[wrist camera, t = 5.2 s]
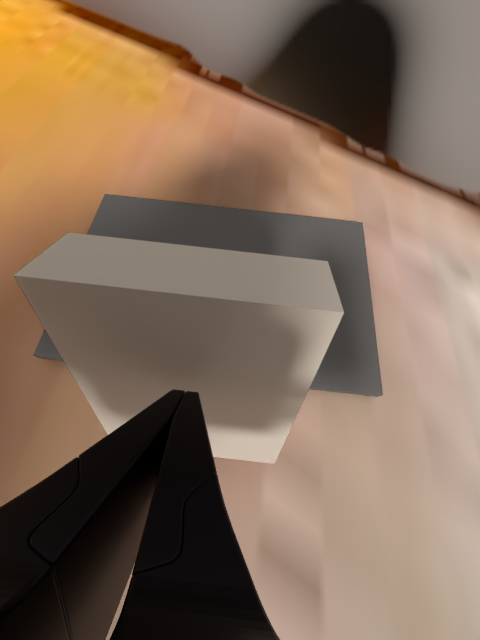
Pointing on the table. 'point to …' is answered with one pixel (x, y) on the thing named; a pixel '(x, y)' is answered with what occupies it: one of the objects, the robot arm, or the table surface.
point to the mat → (273, 239)
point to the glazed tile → (187, 331)
